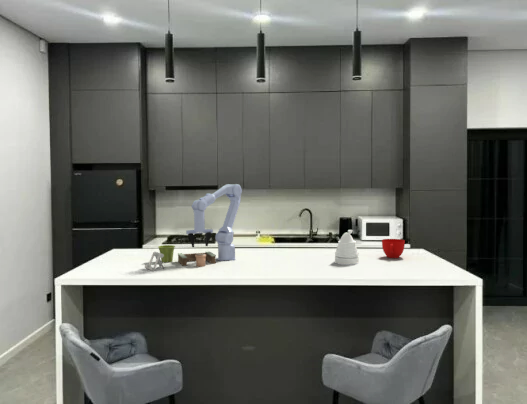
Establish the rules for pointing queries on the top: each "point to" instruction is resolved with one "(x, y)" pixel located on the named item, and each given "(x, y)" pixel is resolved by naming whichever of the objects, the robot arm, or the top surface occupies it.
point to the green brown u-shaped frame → (191, 257)
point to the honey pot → (346, 250)
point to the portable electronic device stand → (158, 256)
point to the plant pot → (167, 252)
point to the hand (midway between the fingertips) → (199, 246)
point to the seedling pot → (200, 260)
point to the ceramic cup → (393, 247)
